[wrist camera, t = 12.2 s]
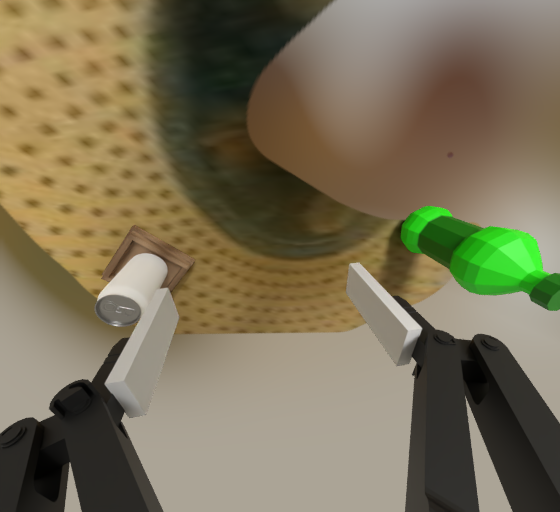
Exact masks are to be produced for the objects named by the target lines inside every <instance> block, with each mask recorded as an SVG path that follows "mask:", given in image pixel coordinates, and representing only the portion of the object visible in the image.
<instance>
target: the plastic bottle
mask: <svg viewBox="0 0 560 512" xmlns="http://www.w3.org/2000/svg"><path fill="white" fill-rule="evenodd" d="M400 238H401V240H402V242H403V243H404V244H405V246H406V247H407V249H408V250H409V251H411V252H413V253H421V254H425V255H427V256H429V257H430V258H432V259H434V260H435V261H437V262H438V263H440V264H442V265H443V266H445V267H447V268H448V269H450V272H451V274H452V275H453V277H454V278H455V280H456V281H457V282H458V283H459V284H460V285H461V286H462V287H463V288H464V289H466V290H468V291H469V292H472V293H476V294H479V295H502V294H510V293H515V292H519V291H523V292H525V293H528V294H529V296H530V299H531V301H532V302H534V303H536V304H538V305H540V306H542V307H543V308H545V309H547V310H550V311H553V310H554V311H557V310H559V309H560V274H558V273H554V274H549V273H547V272H544V271H543V266H542V260H541V256H540V251H539V248H538V245H537V241H536V239H534V238H533V237H532V236H531V235H529V234H528V233H525V232H522V231H519V230H514V229H507V228H500V227H491V226H489V227H487V228H481V227H478V226H476V225H473V224H470V223H467V222H464V221H462V220H459V219H455V218H453V217H452V215H451V214H450V212H449V211H448V210H447V209H443V208H439V207H432V206H426V207H423V208H421V209H419V210H417V211H415V212H413V213H411V214H410V215H409V216H408V217H407V219H406V220H405V221H404V223H403V224H402V229H401V237H400Z"/></svg>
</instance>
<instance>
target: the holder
mask: <svg viewBox="0 0 560 512" xmlns="http://www.w3.org/2000/svg"><path fill="white" fill-rule="evenodd" d="M142 253H149V254H153V255H156V256H158V257H160V258H161V259H162V260H163V261H164V262H165V263H166V265H167V268H168V273H167V276H166V278H165V280H164V282H163V283H162V285H161V287H160V289H162V288H169V290H170V293H171V291H172V290H173V289H174V288H175V286H176V285H177V284H178V282H179V281H180V280H181V278H182V277H183V276H184V275H185V273H186V272H187V271H188V269H189V268H190V267H191V266H192V264H193V263H194V261H195V259H193V258H191V257H190V256H188V255H186V254H184V253H183V252H181V251H179V250H177V249H176V248H174V247H172V246H170V245H169V244H167V243H165V242H163V241H162V240H160V239H158V238H156V237H155V236H153V235H151V234H149V233H148V232H146V231H144V230H143V229H141V228H139V227H137V226H136V225H134V226H133V227H132V228H131V230H130V231H129V233H128V234H127V236H126V237H125V239H124V241H123V242H122V244H121V245H120V247H119V249H118V250H117V252H116V253H115V255H114V256H113V258H112V260H111V261H110V263H109V264H108V266H107V267H106V269H105V271H104V272H103V274H102V275H103V277H102V278H101V279H103V280H106V281H108V282H110V281H111V280H112V279H113V278H114V277H115V276H116V275H117V274H118V273H119V272H120V270H121V269H122V268H123V267H124V266H125V265H126V264H127V263H128V262H129V261H130V260H131V259H132V258H133V257H134V256H136V255H138V254H142Z"/></svg>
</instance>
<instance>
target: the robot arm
mask: <svg viewBox="0 0 560 512" xmlns="http://www.w3.org/2000/svg"><path fill="white" fill-rule="evenodd" d="M346 294H347V295H348V296H349V298H350V299H351V301H352V302H353V304H354V305H355V307H356V308H357V309H358V311H359V312H360V314H361V315H362V317H363V318H364V320H365V321H366V323H367V324H368V325H369V327H370V328H371V330H372V331H373V332H374V334H375V336H376V337H377V338H378V340H379V341H380V343H381V344H382V346H383V347H384V348H385V350H386V351H387V353H388V354H389V356H390V357H391V359H392V360H393V362H394V363H395V364H396V366H400V365H405V364H409V363H410V360H411V358H412V357H413V358H414V360H415V361H416V362H417V364H416V366H415V368H414V371H413V374H412V375H413V376H414V375H415V378H414V392H413V406H412V407H413V408H412V422H411V435H410V449H409V464H408V478H407V492H406V507H405V512H479V504H478V496H477V488H476V480H475V472H474V464H473V456H472V448H471V440H470V431H469V423H468V416H467V407H466V399H465V396H466V398H467V401H468V403H469V406H470V408H471V411H472V413H473V415H474V418H475V420H476V423H477V425H478V428H479V430H480V432H481V435H482V437H483V440H484V442H485V445H486V447H487V450H488V452H489V455H490V457H491V460H492V462H493V464H494V467H495V469H496V472H497V474H498V477H499V479H500V482H501V484H502V486H503V489H504V492H505V494H506V496H507V499H508V501H509V504H510V506H511V509H512V511H513V512H560V423H559V422H558V420H557V419H556V417H555V416H554V415H553V413H552V412H551V410H550V409H549V407H548V406H547V404H546V403H545V401H544V400H543V399H542V397H541V396H540V394H539V393H538V391H537V390H536V388H535V387H534V386H533V384H532V383H531V381H530V380H529V378H528V377H527V375H526V374H525V373H524V371H523V370H522V368H521V367H520V365H519V364H518V363H517V361H516V360H515V358H514V357H513V355H512V354H511V353H510V351H509V350H508V348H507V347H506V346H505V345H504V344H503V343H502V342H501V341H499V340H498V339H496V338H494V337H491V336H489V335H485V334H477V335H475V336H474V337H473V339H472V340H461V339H455V338H454V337H453V336H451V335H450V334H449V333H447V332H444V331H440V330H435V329H434V328H433V327H432V326H431V325H430V324H429V323H428V322H427V321H426V320H425V319H424V318H423V317H422V316H421V315H420V314H419V313H418V312H416V310H415V309H414V308H413V307H411V305H410V304H409V303H408V302H407V301H406V300H404V299H402V298H401V297H399V296H391V295H390V294H389V293H388V292H387V291H386V290H385V289H384V288H383V287H382V286H381V285H380V284H379V283H378V282H377V281H376V280H375V279H374V278H373V277H372V276H371V275H370V274H369V272H368V271H367V270H366V269H365V268H364V267H363V266H362V265H361V264H360V263H352V264H349V272H348V280H347V288H346ZM178 320H179V315H178V312H177V310H176V307H175V304H174V301H173V299H172V296H171V293H170V290H169V288H162V289H157V290H156V291H155V293H154V295H153V297H152V299H151V300H150V302H149V304H148V306H147V308H146V309H145V311H144V313H143V315H142V317H141V319H140V320H139V322H138V324H137V326H136V328H135V330H134V331H133V333H132V335H131V337H129V338H122V339H121V340H120V341H119V342H118V343H117V344H116V345H114V346H113V348H112V349H111V351H110V353H109V354H108V357H107V358H106V359H105V361H104V364H103V365H102V366H101V368H100V369H99V371H98V372H97V374H96V376H95V377H94V379H93V381H92V382H90V381H89V380H83V379H82V380H78V381H75V382H73V383H71V384H69V385H67V386H66V387H64V388H63V389H62V390H61V391H59V392H58V393H57V394H56V395H55V396H54V398H53V399H52V401H51V403H50V407H49V409H50V410H51V411H52V412H53V413H54V414H55V415H54V416H52V417H50V418H47V419H45V420H43V421H41V422H38V421H37V420H36V419H34V418H25V419H22V420H20V421H17V422H16V423H14V424H13V425H11V426H9V427H8V428H7V429H5V430H4V431H3V432H2V433H1V434H0V512H64V507H65V499H66V489H67V481H68V472H69V462H70V463H71V467H72V471H73V476H74V480H75V484H76V488H77V492H78V497H79V501H80V506H81V510H82V512H163V510H162V507H161V505H160V503H159V501H158V499H157V497H156V494H155V492H154V490H153V488H152V486H151V484H150V481H149V479H148V477H147V475H146V473H145V470H144V469H143V466H142V464H141V462H140V460H139V458H138V455H137V453H136V451H135V449H134V447H133V445H132V442H131V440H130V438H129V436H128V434H127V431H126V429H125V427H124V425H123V423H122V422H121V419H122V417H123V414H124V412H125V413H126V414H127V416H128V417H129V418H133V417H138V416H143V415H146V414H147V411H148V408H149V405H150V402H151V399H152V396H153V394H154V391H155V388H156V385H157V382H158V379H159V376H160V373H161V370H162V367H163V364H164V361H165V358H166V355H167V352H168V349H169V346H170V343H171V340H172V337H173V335H174V332H175V329H176V326H177V323H178Z"/></svg>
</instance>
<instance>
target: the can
mask: <svg viewBox="0 0 560 512" xmlns="http://www.w3.org/2000/svg"><path fill="white" fill-rule="evenodd" d="M167 273H168V268H167V265H166V263H165V262H164V261H163V260H162V259H161V258H160V257H158V256H156V255H153V254H149V253H142V254H138V255H136V256H134V257H133V258H132V259H131V260H130V261H129V262H128V263H127V264H126V265H125V266H124V267H123V268H122V269H121V270H120V272H119V273H118V274H117V275H116V276H115V277H114V278H113V279H112V280H111V281H110V283H109V284H108V285H107V286H106V287H105V288H104V289H103V290H102V292H101V293H100V294H99V296H98V300H97V302H96V304H95V312H96V315H97V316H98V317H99V318H100V319H101V320H102V321H104V322H106V323H108V324H110V325H113V326H120V327H121V326H122V327H123V326H129V325H132V324H134V323H136V322H137V321H138V320H139V319H140V318H141V317H142V315H143V313H144V311H145V309H146V308H147V306H148V304H149V302H150V300H151V299H152V297H153V295H154V293H155V291H156V290H157V289H160V287H161V285H162V283H163V282H164V280H165V278H166V276H167Z"/></svg>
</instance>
